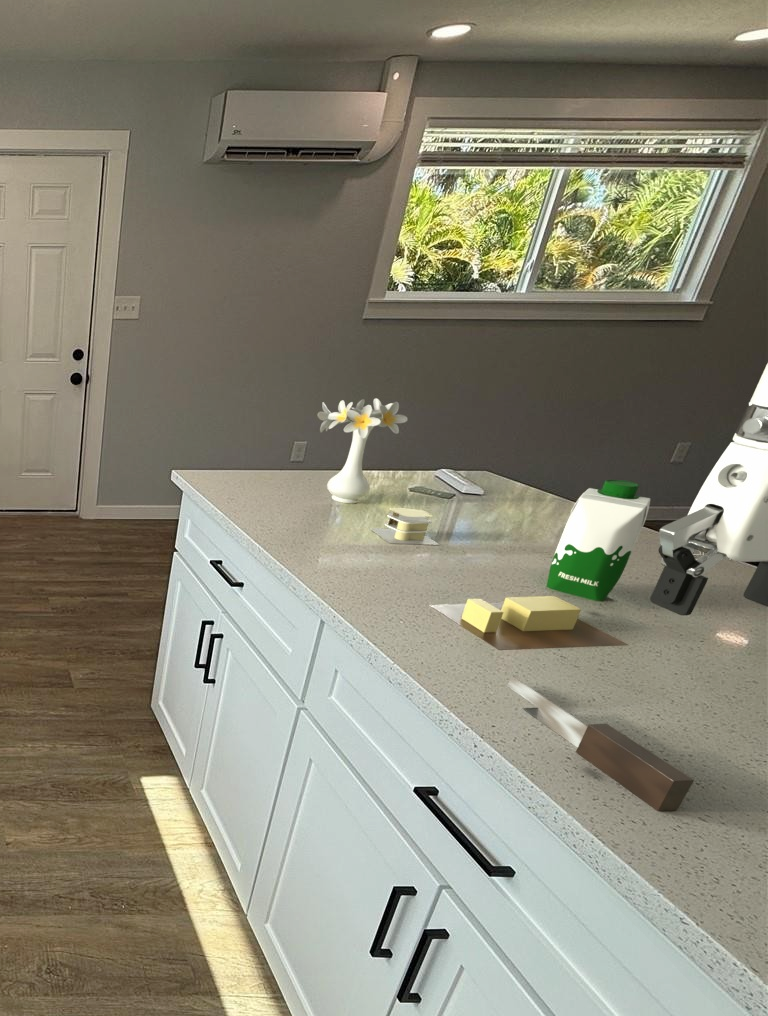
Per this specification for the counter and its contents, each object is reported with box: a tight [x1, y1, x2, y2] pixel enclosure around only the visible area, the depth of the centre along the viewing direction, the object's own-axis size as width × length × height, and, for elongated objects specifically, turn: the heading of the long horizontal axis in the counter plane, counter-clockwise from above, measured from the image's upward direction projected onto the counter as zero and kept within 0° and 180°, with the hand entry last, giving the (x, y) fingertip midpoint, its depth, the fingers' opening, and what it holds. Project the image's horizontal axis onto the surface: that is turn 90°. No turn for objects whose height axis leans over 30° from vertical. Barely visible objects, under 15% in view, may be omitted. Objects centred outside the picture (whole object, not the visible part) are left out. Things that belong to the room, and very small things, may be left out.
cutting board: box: [428, 601, 629, 651], centre depth 98 cm, size 20×14×2 cm
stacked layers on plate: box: [369, 507, 441, 546], centre depth 135 cm, size 10×9×6 cm
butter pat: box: [462, 598, 504, 633], centre depth 97 cm, size 2×4×4 cm, turn 3°
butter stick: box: [501, 595, 582, 631], centre depth 98 cm, size 8×4×4 cm, turn 93°
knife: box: [507, 675, 695, 812], centre depth 74 cm, size 20×2×4 cm, turn 4°
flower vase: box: [317, 397, 409, 504], centre depth 154 cm, size 13×18×25 cm
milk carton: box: [545, 479, 651, 602], centre depth 106 cm, size 9×9×20 cm
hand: (716, 606), depth 61 cm, fingers open, 9 cm apart
